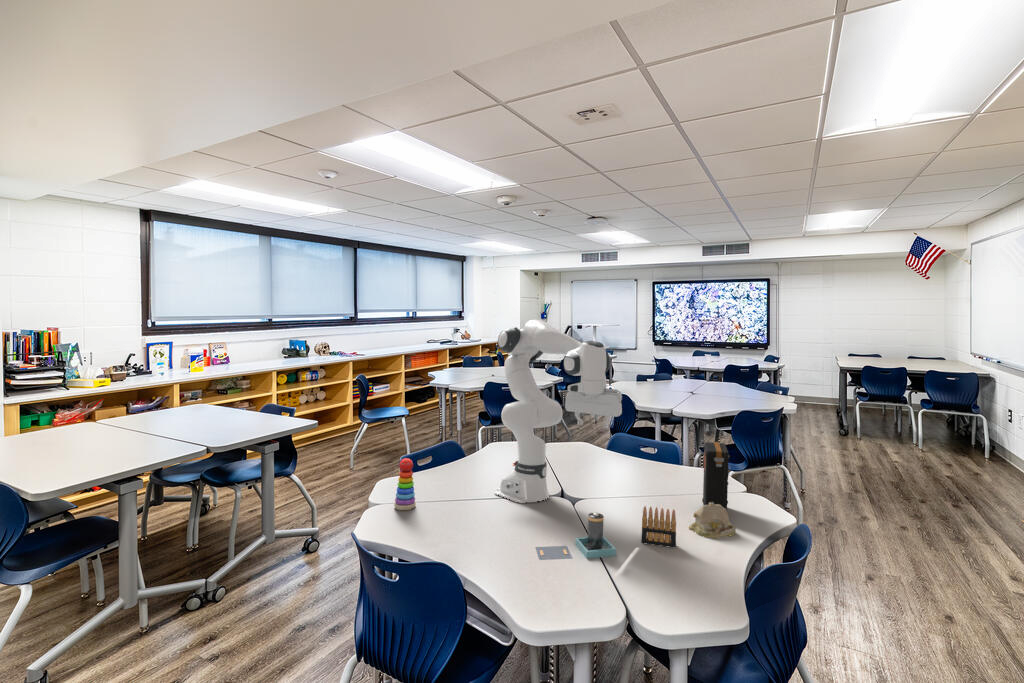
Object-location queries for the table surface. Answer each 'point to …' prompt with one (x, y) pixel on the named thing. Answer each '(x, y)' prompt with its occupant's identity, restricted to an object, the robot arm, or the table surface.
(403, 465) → the stacking toy
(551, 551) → the checker cradle
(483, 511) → the table surface
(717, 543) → the table surface
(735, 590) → the table surface
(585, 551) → the teal square frame
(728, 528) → the ceramic model
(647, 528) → the ammunition clip
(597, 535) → the cell
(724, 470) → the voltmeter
